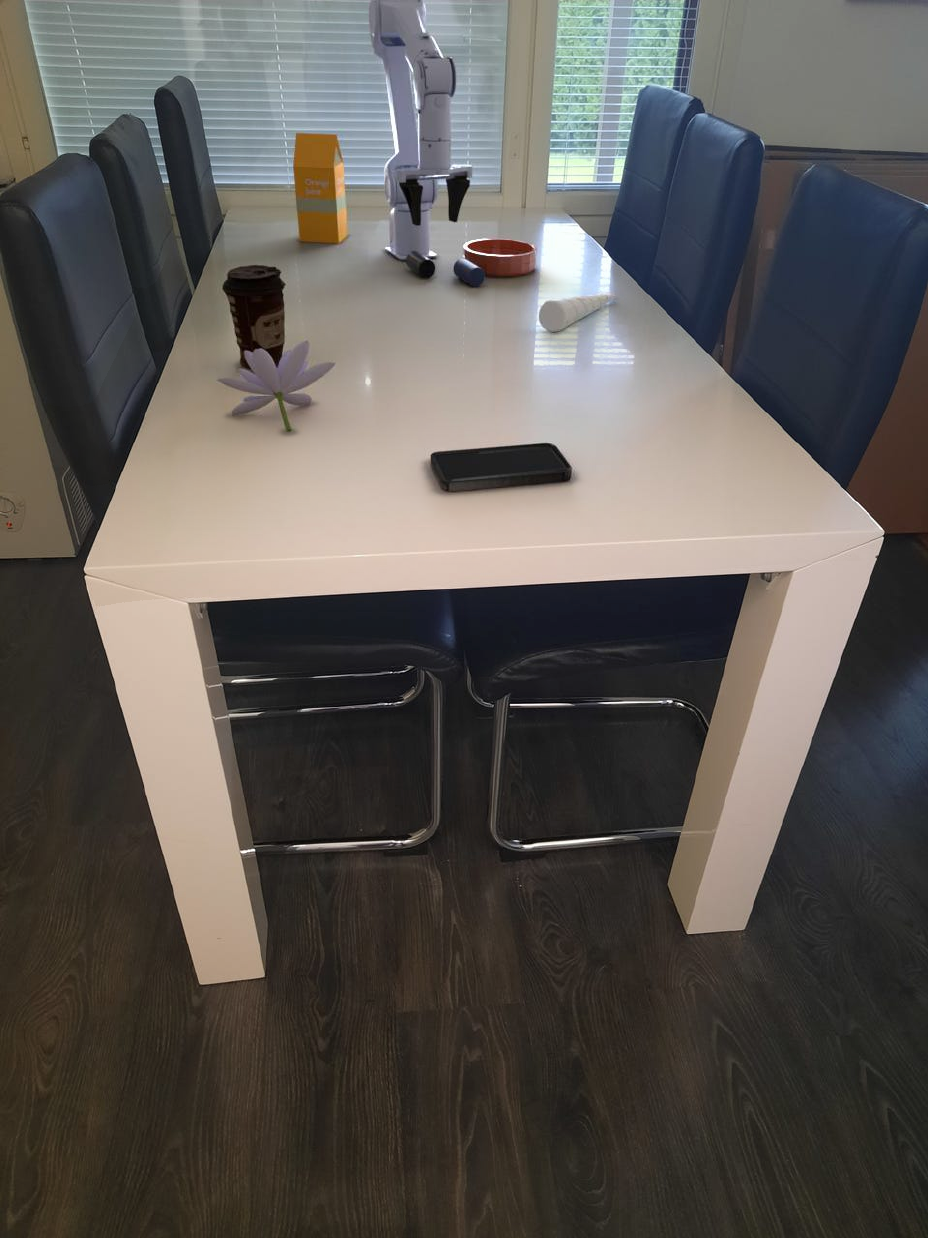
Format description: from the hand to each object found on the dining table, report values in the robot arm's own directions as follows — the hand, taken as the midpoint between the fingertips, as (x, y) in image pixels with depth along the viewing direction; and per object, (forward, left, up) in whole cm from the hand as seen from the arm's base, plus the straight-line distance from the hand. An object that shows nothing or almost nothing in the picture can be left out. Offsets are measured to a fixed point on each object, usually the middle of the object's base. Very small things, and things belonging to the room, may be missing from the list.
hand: (434, 222), depth 158 cm
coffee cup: (+37, -41, -10) cm, 56 cm away
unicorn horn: (+32, +14, -10) cm, 36 cm away
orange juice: (-36, -11, -10) cm, 39 cm away
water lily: (+56, -43, -10) cm, 71 cm away
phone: (+80, -24, -9) cm, 84 cm away
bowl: (-1, +14, -9) cm, 17 cm away
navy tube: (+6, +4, -9) cm, 12 cm away
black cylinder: (-2, -1, -9) cm, 10 cm away
